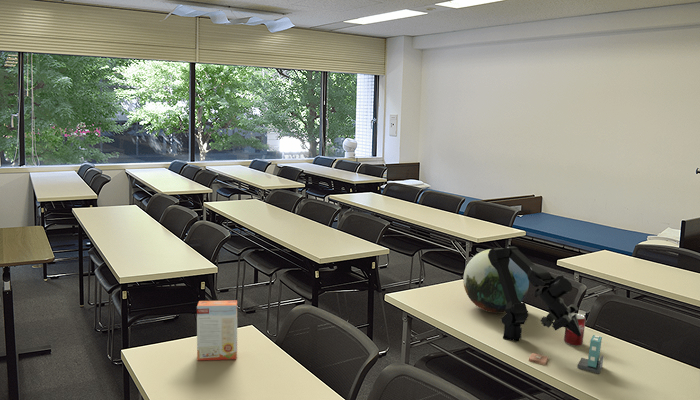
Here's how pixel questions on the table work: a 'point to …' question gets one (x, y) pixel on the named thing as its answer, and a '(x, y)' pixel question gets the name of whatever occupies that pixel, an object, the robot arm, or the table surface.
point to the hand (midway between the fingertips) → (580, 335)
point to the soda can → (573, 338)
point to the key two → (594, 351)
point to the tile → (538, 358)
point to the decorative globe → (491, 283)
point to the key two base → (584, 363)
